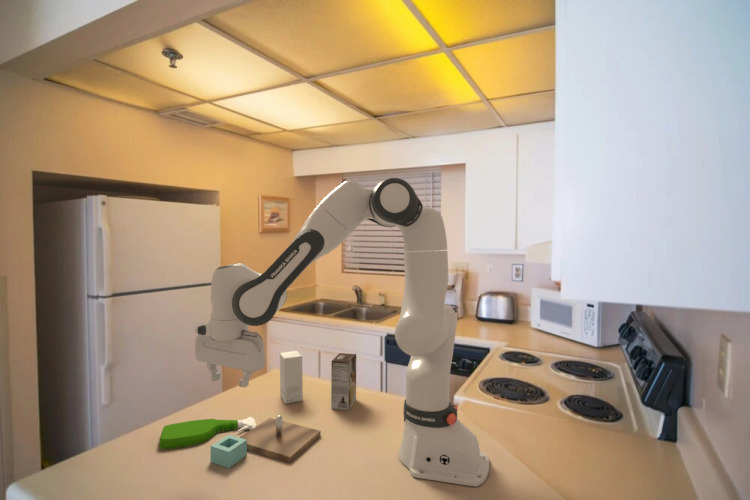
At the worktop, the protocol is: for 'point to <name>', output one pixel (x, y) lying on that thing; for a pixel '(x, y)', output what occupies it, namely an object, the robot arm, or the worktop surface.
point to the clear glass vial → (279, 426)
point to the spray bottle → (199, 431)
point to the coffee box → (343, 381)
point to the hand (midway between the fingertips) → (229, 383)
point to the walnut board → (280, 439)
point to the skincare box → (291, 377)
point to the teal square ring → (228, 451)
